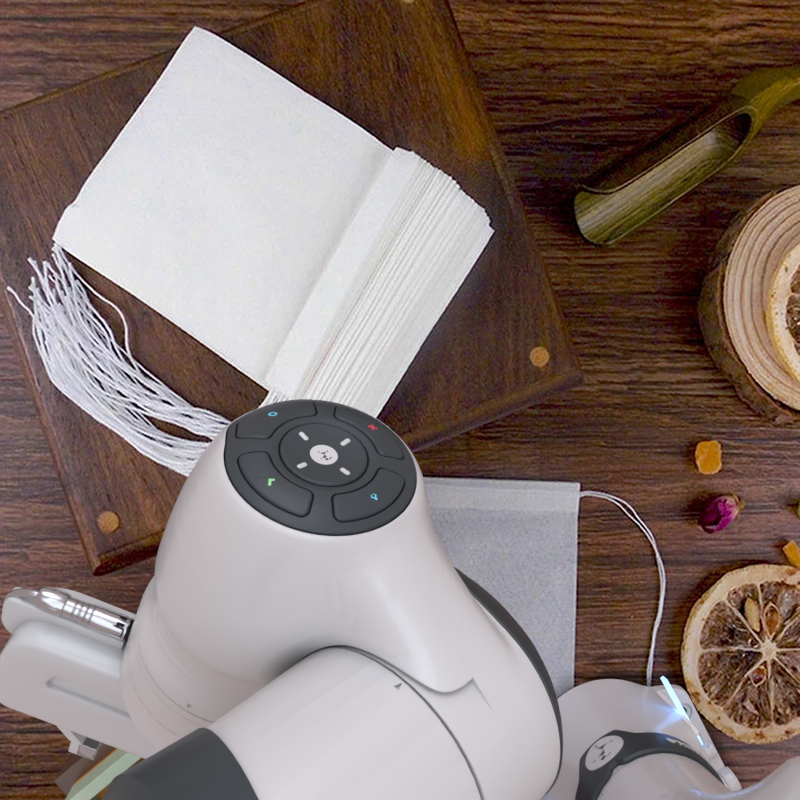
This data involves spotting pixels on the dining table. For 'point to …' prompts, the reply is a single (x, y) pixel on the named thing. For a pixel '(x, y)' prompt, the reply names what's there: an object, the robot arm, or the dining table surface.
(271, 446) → the robot arm
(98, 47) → the dining table surface
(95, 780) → the socket base
